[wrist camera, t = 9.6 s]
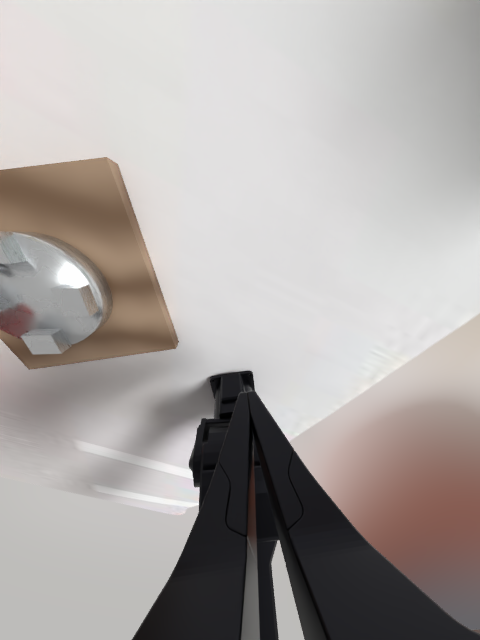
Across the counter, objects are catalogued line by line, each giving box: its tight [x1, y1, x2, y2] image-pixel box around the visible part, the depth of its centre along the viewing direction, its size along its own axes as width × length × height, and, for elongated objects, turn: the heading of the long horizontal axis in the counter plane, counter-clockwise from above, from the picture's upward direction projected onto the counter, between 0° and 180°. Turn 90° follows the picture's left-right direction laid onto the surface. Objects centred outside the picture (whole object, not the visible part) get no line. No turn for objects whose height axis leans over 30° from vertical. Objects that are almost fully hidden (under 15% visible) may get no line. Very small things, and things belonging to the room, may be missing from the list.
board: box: [0, 157, 179, 370], centre depth 17 cm, size 18×18×2 cm
